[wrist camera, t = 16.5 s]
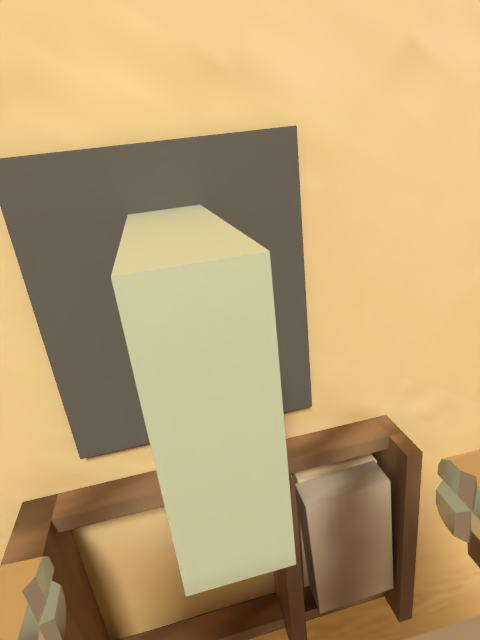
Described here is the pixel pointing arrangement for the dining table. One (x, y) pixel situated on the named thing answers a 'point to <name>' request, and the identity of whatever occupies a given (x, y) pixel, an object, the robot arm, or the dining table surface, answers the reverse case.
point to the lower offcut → (318, 472)
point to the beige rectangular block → (208, 390)
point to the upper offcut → (347, 534)
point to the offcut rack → (291, 596)
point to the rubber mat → (102, 246)
